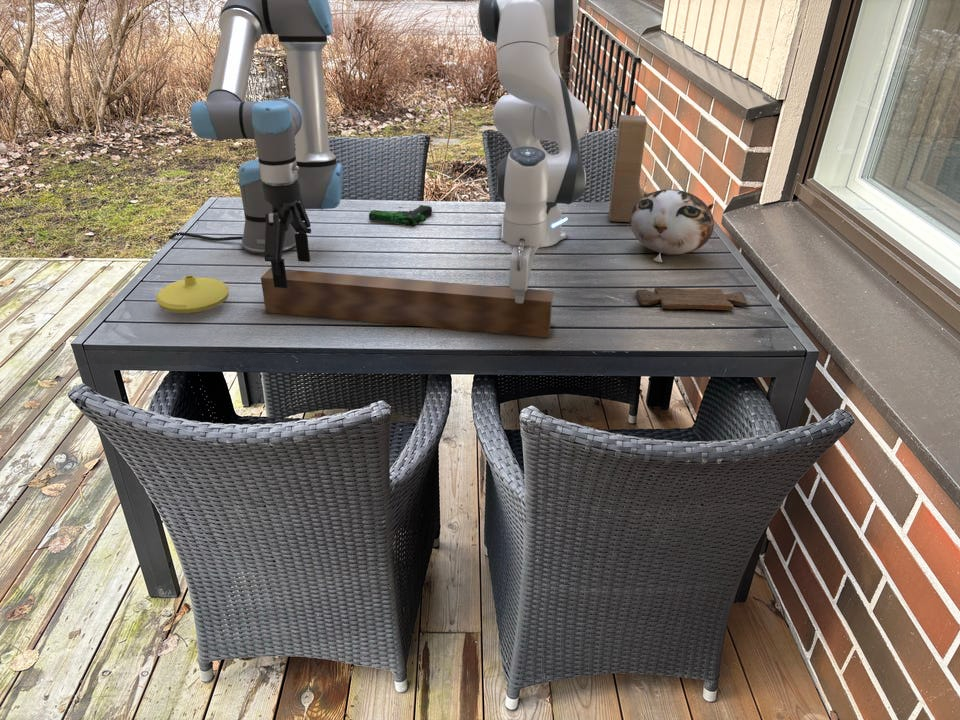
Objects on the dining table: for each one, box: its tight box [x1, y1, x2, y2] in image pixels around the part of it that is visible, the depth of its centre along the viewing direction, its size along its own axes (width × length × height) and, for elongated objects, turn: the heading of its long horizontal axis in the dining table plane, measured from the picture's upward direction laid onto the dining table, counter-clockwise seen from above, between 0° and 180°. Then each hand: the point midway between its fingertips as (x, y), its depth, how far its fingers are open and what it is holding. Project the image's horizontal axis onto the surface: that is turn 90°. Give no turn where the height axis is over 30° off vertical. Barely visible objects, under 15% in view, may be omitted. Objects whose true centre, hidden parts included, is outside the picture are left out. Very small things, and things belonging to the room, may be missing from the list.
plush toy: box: [629, 188, 715, 263], centre depth 192 cm, size 22×18×20 cm
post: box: [260, 267, 554, 339], centre depth 158 cm, size 64×5×9 cm, turn 81°
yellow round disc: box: [155, 274, 230, 315], centre depth 163 cm, size 16×16×7 cm
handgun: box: [368, 204, 433, 227], centre depth 216 cm, size 16×3×15 cm
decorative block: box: [608, 114, 651, 223], centre depth 211 cm, size 8×15×30 cm, turn 82°
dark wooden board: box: [635, 287, 748, 311], centre depth 169 cm, size 26×2×10 cm
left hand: (293, 273), depth 160 cm, fingers open, 13 cm apart
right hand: (521, 291), depth 153 cm, fingers open, 8 cm apart
